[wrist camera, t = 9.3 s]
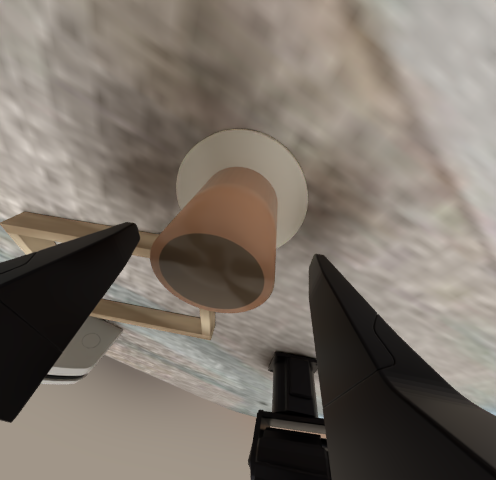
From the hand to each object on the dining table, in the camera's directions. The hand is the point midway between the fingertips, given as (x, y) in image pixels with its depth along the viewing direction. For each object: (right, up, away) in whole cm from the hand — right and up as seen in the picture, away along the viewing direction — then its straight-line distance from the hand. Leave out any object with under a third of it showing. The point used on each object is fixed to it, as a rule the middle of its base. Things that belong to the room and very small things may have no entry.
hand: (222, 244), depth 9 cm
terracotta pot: (+1, +3, +4) cm, 5 cm away
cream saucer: (+1, +3, +4) cm, 5 cm away
